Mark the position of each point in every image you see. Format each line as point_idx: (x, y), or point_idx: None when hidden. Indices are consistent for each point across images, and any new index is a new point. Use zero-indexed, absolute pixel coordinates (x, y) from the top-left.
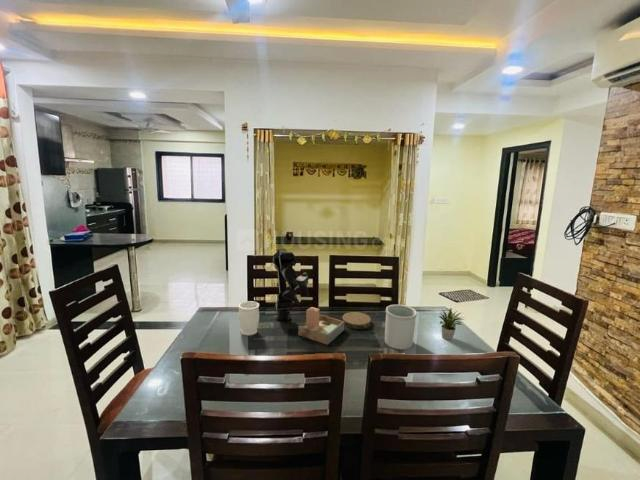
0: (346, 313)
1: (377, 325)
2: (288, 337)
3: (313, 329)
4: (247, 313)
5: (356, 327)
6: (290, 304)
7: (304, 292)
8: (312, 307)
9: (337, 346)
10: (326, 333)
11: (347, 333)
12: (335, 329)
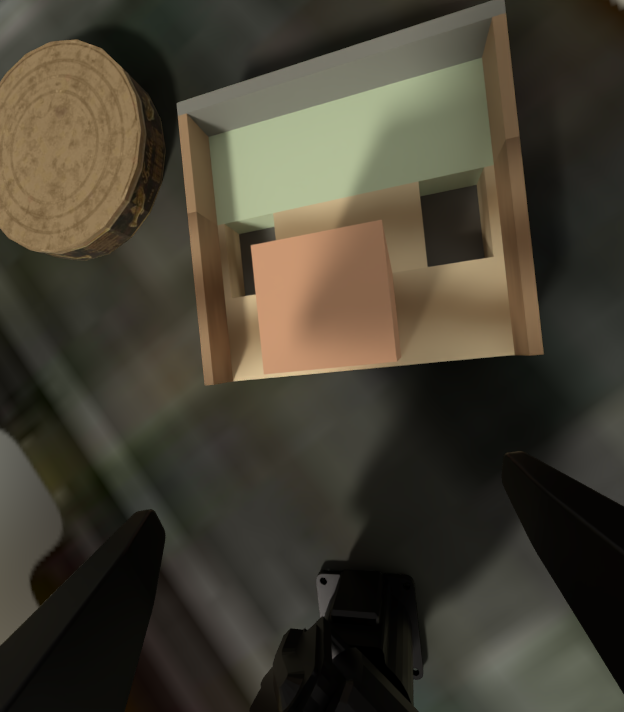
0: (40, 247)
1: (41, 42)
2: (610, 391)
3: (412, 264)
4: None
5: (145, 95)
6: (340, 681)
7: (128, 647)
8: (271, 350)
9: (452, 5)
10: (398, 133)
11: None
12: (344, 51)
